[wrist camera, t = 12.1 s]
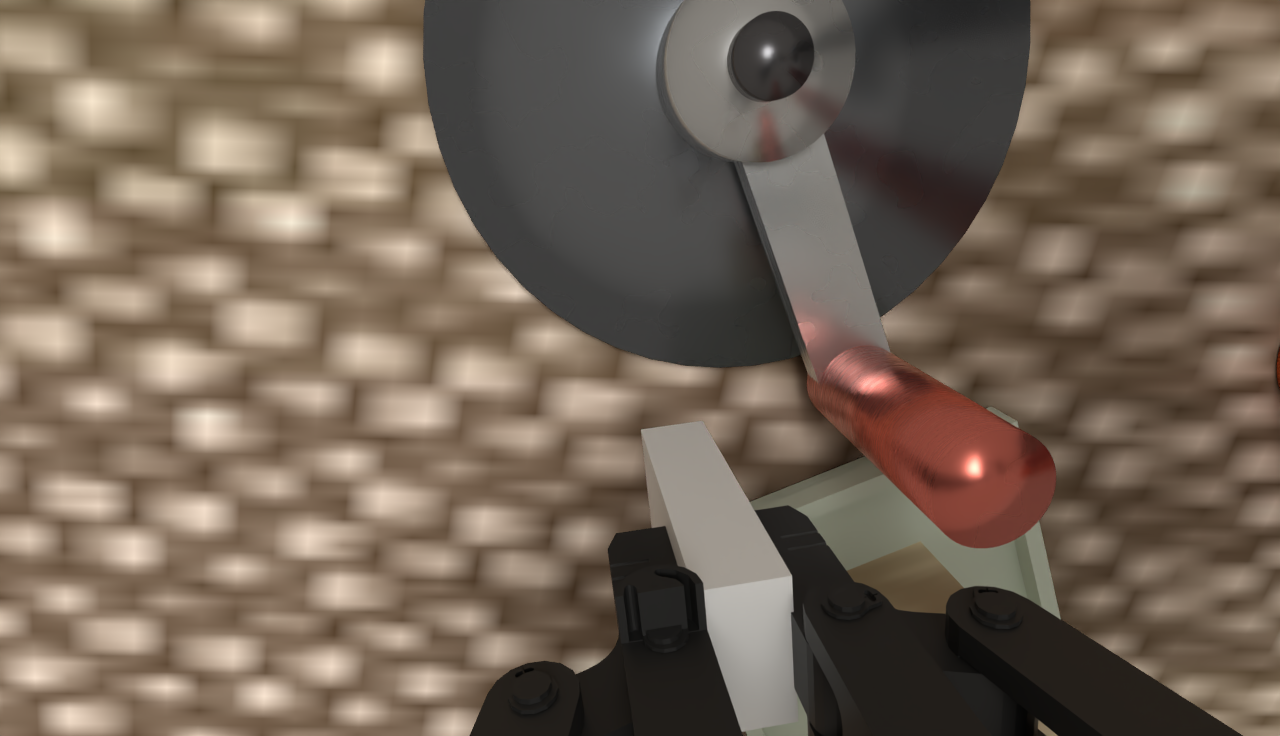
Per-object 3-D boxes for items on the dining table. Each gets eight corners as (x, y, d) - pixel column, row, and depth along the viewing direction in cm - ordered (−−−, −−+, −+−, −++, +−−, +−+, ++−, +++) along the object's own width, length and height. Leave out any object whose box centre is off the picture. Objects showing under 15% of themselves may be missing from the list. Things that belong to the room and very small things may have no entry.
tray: (991, 406, 25) (1017, 421, 24) (1052, 669, 29) (1077, 696, 27) (665, 535, 25) (671, 557, 24) (769, 781, 29) (780, 813, 28)
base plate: (948, -405, 18) (1055, -560, 14) (1065, 245, 24) (1165, 262, 20) (307, -145, 18) (237, -228, 14) (571, 441, 24) (573, 497, 20)
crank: (628, 17, 19) (677, -86, 11) (794, -55, 19) (965, -212, 11) (785, 438, 24) (904, 586, 15) (921, 380, 24) (1113, 498, 15)
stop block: (920, 541, 26) (1046, 675, 19) (950, 644, 27) (1077, 802, 21) (794, 591, 26) (875, 743, 19) (831, 692, 27) (918, 865, 21)
